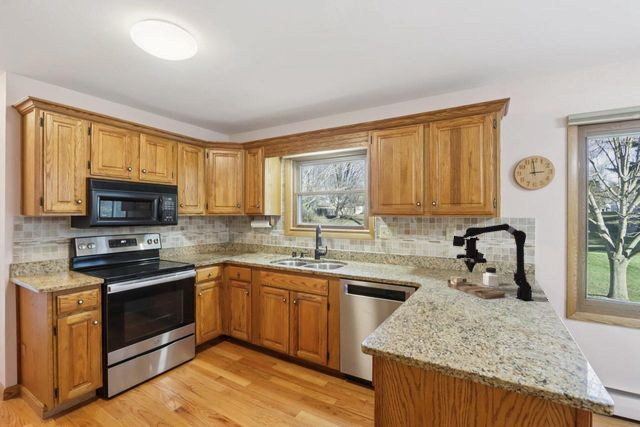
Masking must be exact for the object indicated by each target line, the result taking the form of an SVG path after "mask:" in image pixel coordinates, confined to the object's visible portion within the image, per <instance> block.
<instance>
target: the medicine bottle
mask: <svg viewBox="0 0 640 427" xmlns="http://www.w3.org/2000/svg"><path fill="white" fill-rule="evenodd" d="M482 284H483V285H485V286H487V287H500V275H498V274H497V269H496V268H495V267H492V266H487V267H486V268H485V273H482Z"/></svg>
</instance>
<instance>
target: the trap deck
mask: <svg viewBox="0 0 640 427" xmlns="http://www.w3.org/2000/svg"><path fill="white" fill-rule="evenodd" d="M447 287H449V288H451V289H454V290H456V291H459V292H463V293H465V294H468V295H471V296H474V297H476V298H480V299H482V300H493V299H500V298H506V297H505V296H506V295H505V294H506V293H505V292H502V291H499V290H495V289H492V288H489V287H485V286H482V285H479V284H475V283H472V282H469V281H468V278H463V285H458V286H456V285H453V284H451V279H447Z"/></svg>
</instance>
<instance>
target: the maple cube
mask: <svg viewBox="0 0 640 427" xmlns="http://www.w3.org/2000/svg"><path fill="white" fill-rule="evenodd" d="M463 279H464V277H462V276H458V275H452V276H451V275H450V280H451V284H453V285H456V286H458V285H463Z"/></svg>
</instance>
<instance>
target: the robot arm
mask: <svg viewBox="0 0 640 427" xmlns="http://www.w3.org/2000/svg"><path fill="white" fill-rule="evenodd" d="M501 231H505V232H507V233H509V234H511V235H512V236H513V238H514V243H515V248H516V249H515V251H516V252H515V253H516V254H515V255H516V258H515V259H516V270H515V271H513V272H512V273H513V278H512V280H513V281H514V282H515V285H516V286H518V287H517V290H516V296H515V299H518V300H520V301H524V302H528V301H529V302H530V301H534V300H535V299H533V290H532V286H531V283H529V282H528V280H527V279H528V278H527V275H526V272H525V244H526V239H527V234H526V232H524V230H518V229H516V228H515V227H513V226H511V225H509V224H508V223H501V224H495V225H487V226H478V227H477V226H474V227H473V226H472V227H471V226H470V227H468V228H467V229H466V230H465V234H463V235H453V240H452V246H453V247H459V248H460V247H461V248H462V247H464V246H465V248H463V249H464V251H465V253H459V254H458V253H457V254H456V259H458V260H461V259H463V260H462V261H463V263H464V264H465V266H466V267H467V270H468V272H469V273H473V270H474V268H475V266H476V264H487V263H488V262H487V259H486V258H485V257H484V255H485V254H484V253H482V252H479V250H478V248H477V241H478V242H479V241H480V238H479V237H478V236H479V235H482V234H487V233H494V232H501Z"/></svg>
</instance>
